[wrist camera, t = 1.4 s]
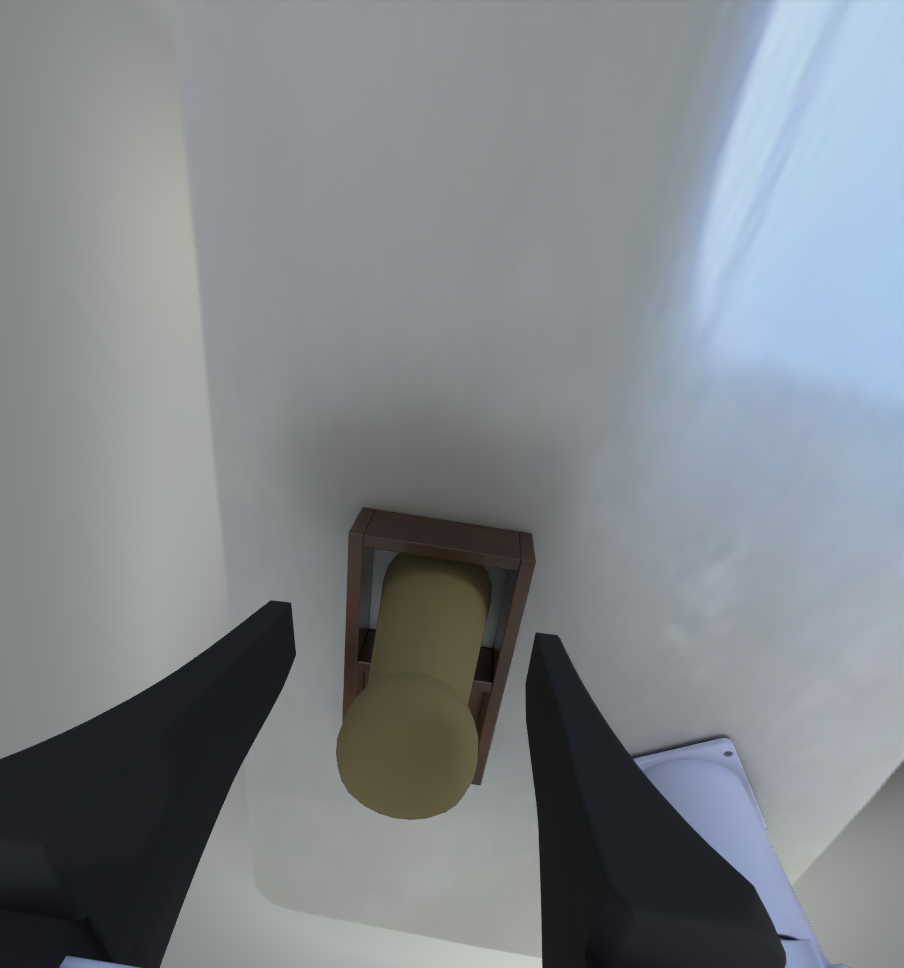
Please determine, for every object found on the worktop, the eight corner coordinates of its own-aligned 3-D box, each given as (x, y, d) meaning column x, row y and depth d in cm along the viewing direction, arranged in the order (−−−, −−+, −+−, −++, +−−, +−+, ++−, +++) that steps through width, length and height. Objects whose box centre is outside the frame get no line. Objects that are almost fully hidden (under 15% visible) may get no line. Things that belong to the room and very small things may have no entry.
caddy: (481, 748, 31) (480, 786, 28) (352, 726, 31) (340, 762, 29) (532, 533, 23) (536, 561, 21) (362, 507, 24) (348, 532, 21)
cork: (485, 538, 24) (478, 732, 14) (497, 629, 26) (497, 848, 16) (373, 546, 24) (289, 734, 15) (394, 633, 27) (335, 844, 17)
